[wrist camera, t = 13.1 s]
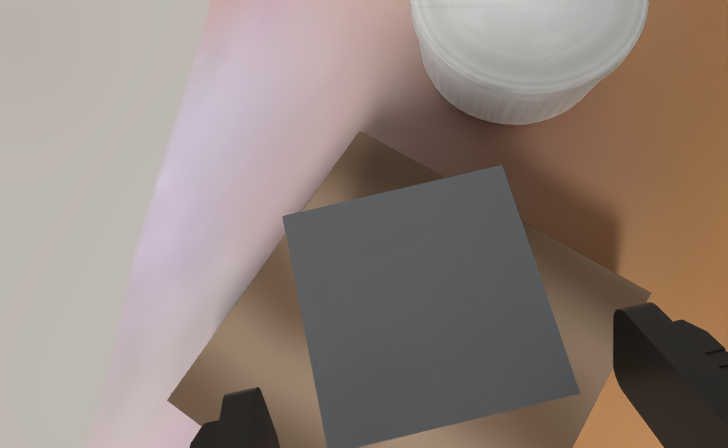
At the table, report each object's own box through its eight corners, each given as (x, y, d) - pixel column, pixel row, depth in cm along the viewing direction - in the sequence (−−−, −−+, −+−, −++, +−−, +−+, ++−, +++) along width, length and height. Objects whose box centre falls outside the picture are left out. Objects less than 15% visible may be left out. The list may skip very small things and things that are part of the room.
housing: (329, 296, 23) (282, 215, 14) (460, 265, 24) (502, 164, 14) (358, 437, 22) (328, 454, 12) (501, 403, 22) (580, 393, 12)
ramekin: (538, -56, 34) (563, -137, 29) (654, 86, 30) (704, 22, 25) (372, 22, 33) (367, -48, 28) (472, 179, 29) (487, 131, 24)
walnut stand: (364, 167, 30) (359, 130, 26) (614, 310, 27) (650, 292, 23) (200, 402, 26) (166, 400, 22) (464, 598, 23) (477, 633, 19)
